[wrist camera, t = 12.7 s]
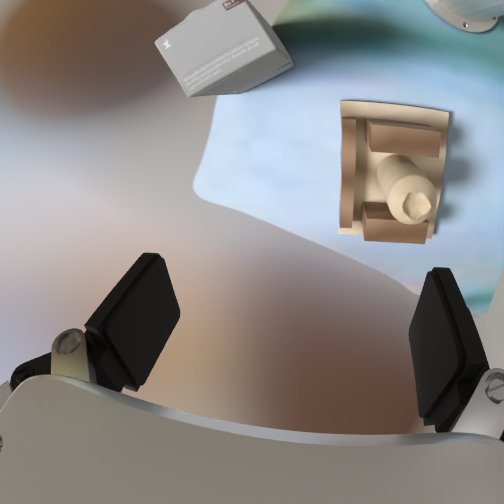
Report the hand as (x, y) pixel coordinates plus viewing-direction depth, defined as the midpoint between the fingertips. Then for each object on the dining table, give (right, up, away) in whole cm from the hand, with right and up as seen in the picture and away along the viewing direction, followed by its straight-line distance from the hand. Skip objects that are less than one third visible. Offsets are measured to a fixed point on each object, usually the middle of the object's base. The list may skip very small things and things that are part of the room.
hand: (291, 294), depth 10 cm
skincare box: (-1, +25, +21) cm, 33 cm away
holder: (+17, +12, +25) cm, 32 cm away
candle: (+17, +11, +24) cm, 31 cm away
